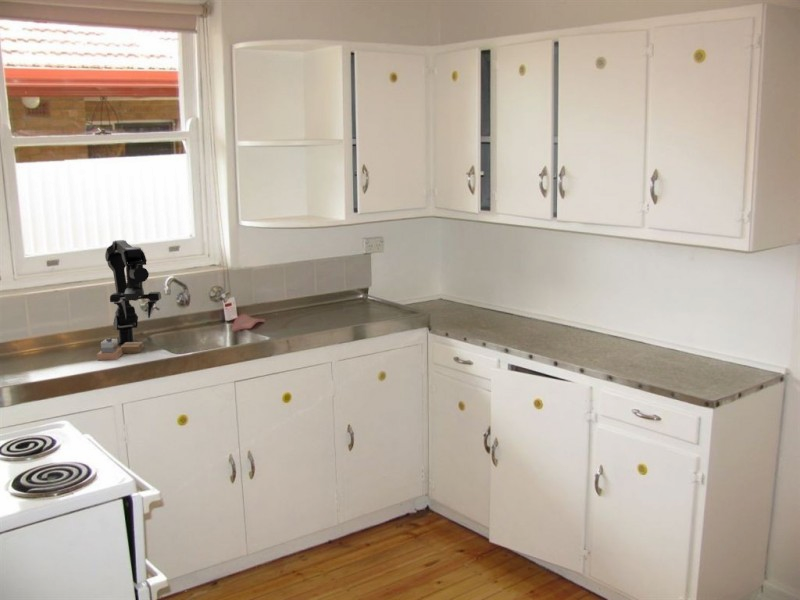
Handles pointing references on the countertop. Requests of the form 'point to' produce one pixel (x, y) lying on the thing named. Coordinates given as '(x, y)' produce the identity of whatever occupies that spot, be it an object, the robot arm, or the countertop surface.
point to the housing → (109, 345)
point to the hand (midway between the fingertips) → (137, 318)
